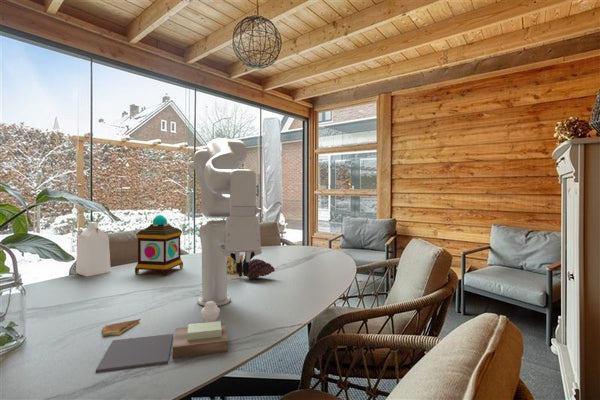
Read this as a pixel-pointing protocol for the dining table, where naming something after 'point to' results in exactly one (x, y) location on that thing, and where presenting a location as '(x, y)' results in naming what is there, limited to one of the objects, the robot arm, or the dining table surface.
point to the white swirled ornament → (210, 312)
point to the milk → (93, 251)
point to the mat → (136, 352)
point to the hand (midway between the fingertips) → (242, 275)
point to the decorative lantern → (159, 246)
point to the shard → (119, 327)
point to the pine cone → (259, 268)
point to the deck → (198, 344)
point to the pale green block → (204, 330)
